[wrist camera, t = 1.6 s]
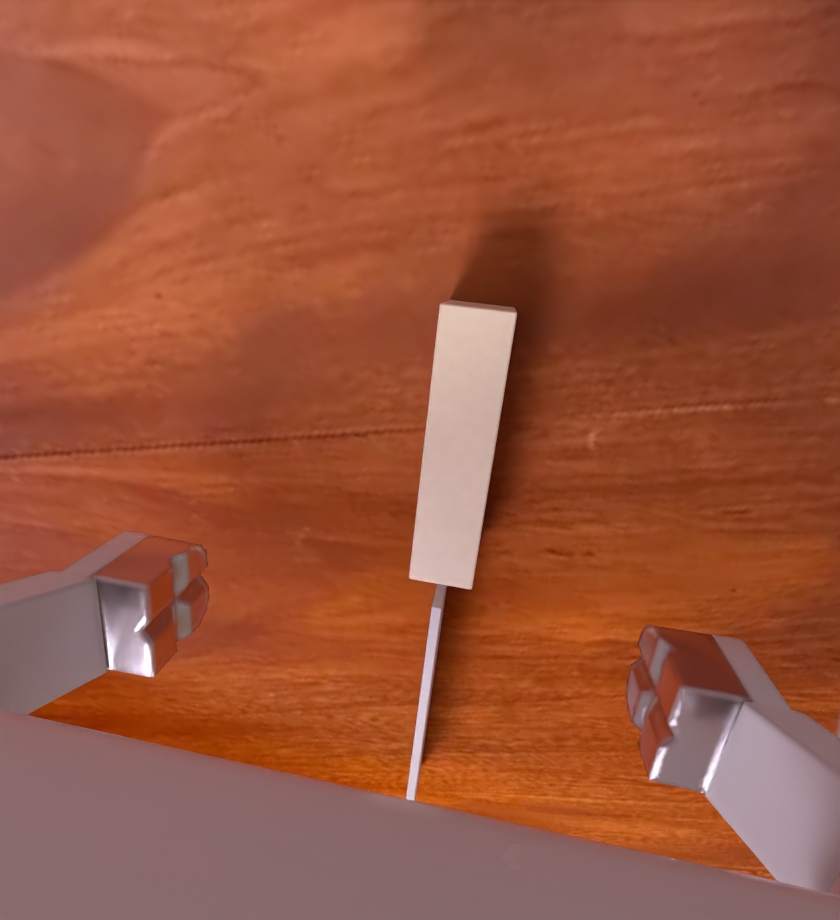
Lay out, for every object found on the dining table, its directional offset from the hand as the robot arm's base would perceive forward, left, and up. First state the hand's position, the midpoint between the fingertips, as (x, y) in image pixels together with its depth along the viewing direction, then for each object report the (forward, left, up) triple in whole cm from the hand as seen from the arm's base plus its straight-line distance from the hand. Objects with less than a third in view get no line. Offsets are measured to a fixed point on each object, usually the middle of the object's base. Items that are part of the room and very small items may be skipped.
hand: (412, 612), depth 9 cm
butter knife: (+4, +4, -12) cm, 13 cm away
